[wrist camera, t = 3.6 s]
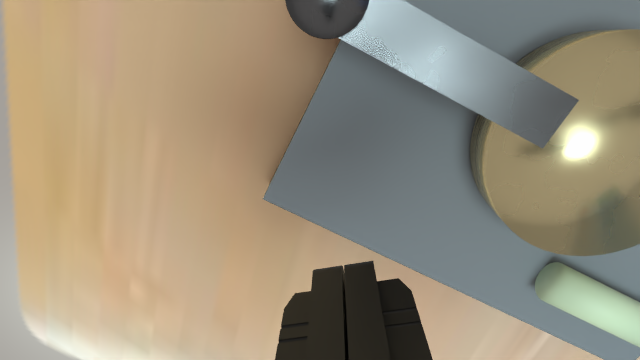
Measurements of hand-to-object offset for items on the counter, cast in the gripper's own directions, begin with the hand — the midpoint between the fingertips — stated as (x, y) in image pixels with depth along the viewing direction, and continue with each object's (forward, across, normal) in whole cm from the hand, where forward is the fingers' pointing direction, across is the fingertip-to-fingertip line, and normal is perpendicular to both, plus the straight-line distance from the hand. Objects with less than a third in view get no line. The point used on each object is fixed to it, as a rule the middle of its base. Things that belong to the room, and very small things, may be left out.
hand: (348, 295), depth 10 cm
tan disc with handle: (+9, -7, -3) cm, 11 cm away
